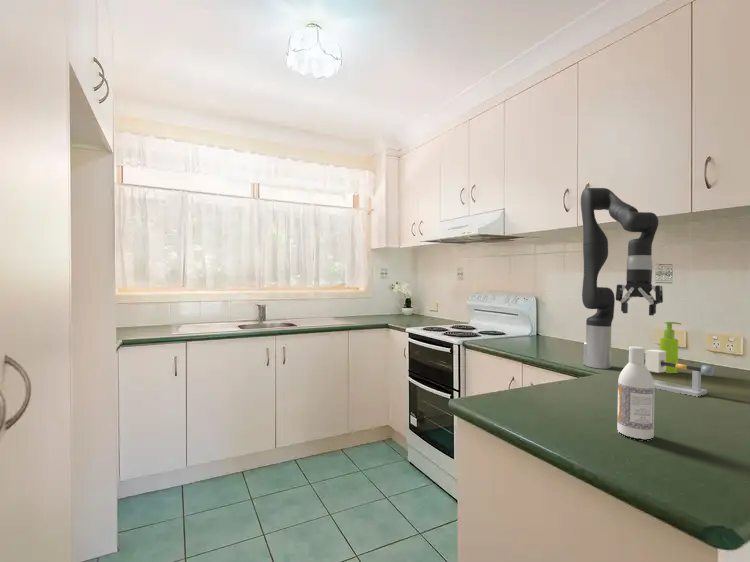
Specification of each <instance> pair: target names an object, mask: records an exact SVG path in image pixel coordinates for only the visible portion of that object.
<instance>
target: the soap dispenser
mask: <svg viewBox="0 0 750 562" xmlns="http://www.w3.org/2000/svg"><path fill="white" fill-rule="evenodd" d="M664 324H666V329H664V330H663V337H661V338H659V350H662V351H666V362H667V363H674V364H676V363H677V364H679V340H678V339H676V338H675V330H674V329H673V325H682V323H681V322H675V321H664ZM678 369H679V368H676V367H670V366H666V371H664V372H666V373H665V374H671V373H677V374H678V373H679V370H678ZM664 372H663V373H664Z"/></svg>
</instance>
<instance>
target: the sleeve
mask: <svg viewBox="0 0 750 562" xmlns="http://www.w3.org/2000/svg"><path fill="white" fill-rule="evenodd" d="M644 359H645V362H644V365H645V366H646V367H647V369H648V370H649V372H651V373H658V374H659V373H664V371H666V366H663V365H661V362H666V351H662V350H660V349H647V350H645V351H644Z"/></svg>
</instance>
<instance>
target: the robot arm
mask: <svg viewBox="0 0 750 562" xmlns="http://www.w3.org/2000/svg"><path fill="white" fill-rule="evenodd" d="M580 194H581V195H580V209H581V218H582V220H581V221H582V230H583V231H582V232H583V233H582V236H583V238H582V240H583V241H582V242H583V243H582V245H583V246H582V248H583V277H582V278H583V279H582V290H581V296H582V298H581V299H582V304H583V306H584V307H585V308H586V309H588V310H596V312H595V313H594V314H593V315H592V316H588V317H587V318H586V321H585V322H586V325H585V327H586V328H585V331H586V332H585V334H586V335H585V342H584V343H583V361H582V362H583V363H582V364H583V366H586V367H589V368H594V369H604V370H605V369H611V367H612V365H611V364H612V322H613V320H614V313H615V303H616V301H617V302H620V308H621V309H620V311H621V312H622V313H623V314H628V308H629V304H628V302H629V301H630V299H633V298H644V299H645V300H647V302H648V303H649V304H648V316H653V317H654V315H655V314H656V313H657V305H658V304H662V303H663V302H664V296H663V295H664V293H663V286H662V285H653V284H652V281H653V280H652V279H653V260H652V259H653V258H652V255H653V254H652V252H653V251H652V250H653V248H652V247H653V245H652V244H653V241H654V239H655V235H656V234H657V233H656V232H657V230H658V227H659V218H658V216H657V214H655V213H654V212H649V211H646V212H645V211H644V212H642V211H639V210H638V209H637V208H636V207H634V206H632V205H631V204H628V203H627V202H625V201H623V200H622V199H620V198H619V196H617V195H616V194H615V193H614V192H613V191H612V190H611V189H609V188H605V187H586V188H584V189H583V190H582V192H581V193H580ZM603 210H604V211H608V213H609V216H610V217H611V218H612V219H613V220H615V221H616V222H618V223H619V224H620V225H621V226H622V227H621V228H622V229H623V230H625V231H626V232H629V233H641V234H640V236H639V238H638V237H637V238H633V239H630V240H629V241H628V244H627V245H628V246H627V260H626V279H625V281H626V284H617V285H616V290H615V293H614V291H613V289H612V288H610V287H607V286H606V287H603V286H598V276H599V273H600V271H601V269H603V268H602V267H603V266H604V265H605V263H606V261H607V259H608V256H609V240H608V237H607V235H606V233H605V232H604V230H603V229H602V228H601V226H600V224H599V223H598V221H597V219H596V215H595V211H603ZM625 290H626V293H625V294H624V291H625ZM652 291H654V293H655V298H654V296H653V294H652V293H651V292H652ZM615 300H616V301H615Z"/></svg>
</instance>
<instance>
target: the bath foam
mask: <svg viewBox="0 0 750 562" xmlns="http://www.w3.org/2000/svg"><path fill="white" fill-rule="evenodd" d="M628 351H629V352H628V363H626V365H625V366H624V367H623V369H622V370H621V372H620V373H619V375H618V380H617V381H618V382H617V414H616V415H617V418H616V419H617V425H616V426H617V427H616V429H617V430H618V431H617V433H619V432H620V433H622V434H624V435H626V436H630V437H634V438H641V439H651V438H653V439H654V436H655V390H656V389H655V386H654V380H655V379H654V377H653V375H652V372H651V371H649V370H648V369H647V367H646V366H645V362H644V359H645V348H644V347H642V346H635V345H633V346H632V345H631V346H629V347H628ZM651 440H652V439H651Z"/></svg>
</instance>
